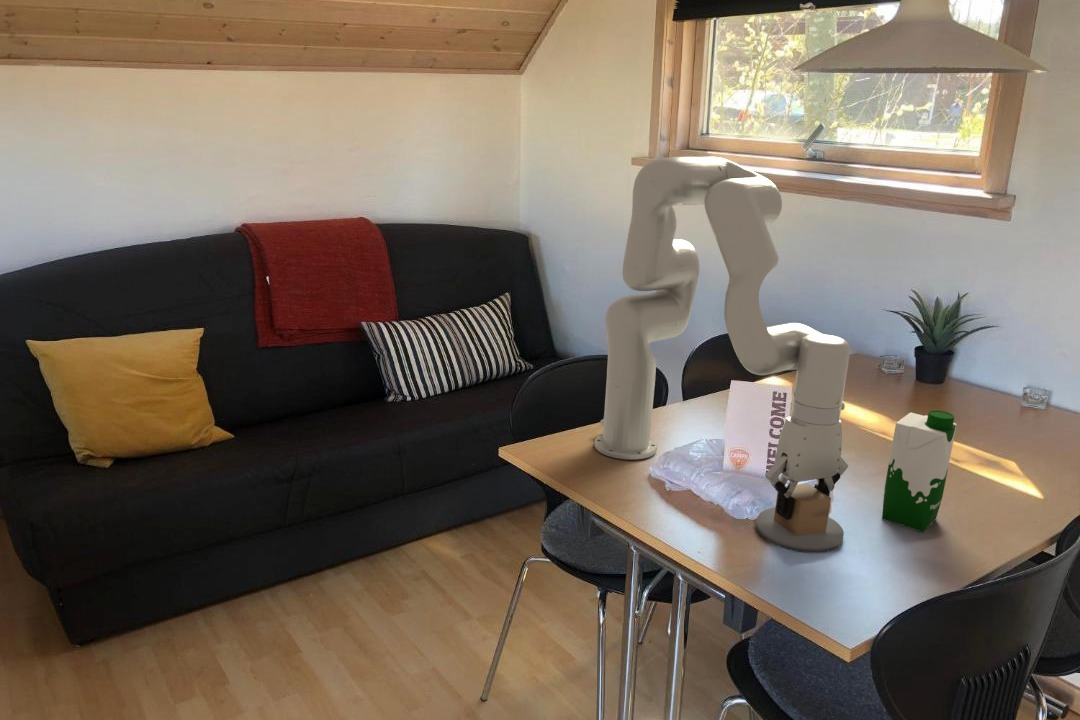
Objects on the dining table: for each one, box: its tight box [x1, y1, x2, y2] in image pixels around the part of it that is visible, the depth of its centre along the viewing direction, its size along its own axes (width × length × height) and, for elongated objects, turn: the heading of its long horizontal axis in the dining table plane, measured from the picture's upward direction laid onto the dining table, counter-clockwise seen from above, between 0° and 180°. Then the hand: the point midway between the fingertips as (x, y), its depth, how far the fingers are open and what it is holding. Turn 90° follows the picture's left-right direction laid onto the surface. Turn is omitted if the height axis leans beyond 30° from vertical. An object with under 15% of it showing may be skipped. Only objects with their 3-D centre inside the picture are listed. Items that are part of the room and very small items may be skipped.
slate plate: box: [755, 506, 845, 554], centre depth 149 cm, size 14×14×1 cm
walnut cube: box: [774, 482, 832, 536], centre depth 148 cm, size 6×6×6 cm
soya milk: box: [881, 410, 958, 533], centre depth 153 cm, size 9×9×20 cm
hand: (801, 512), depth 148 cm, fingers open, 6 cm apart
